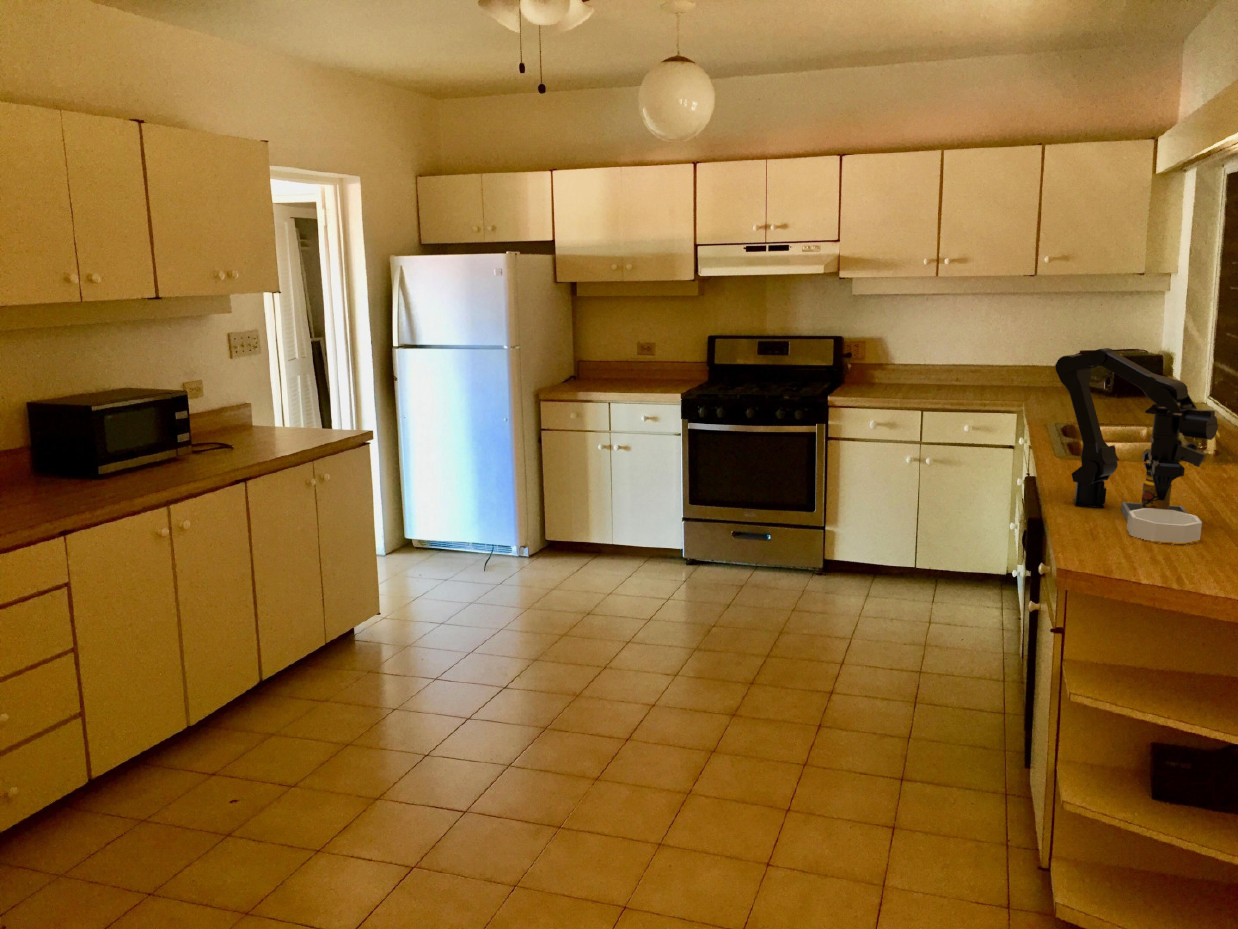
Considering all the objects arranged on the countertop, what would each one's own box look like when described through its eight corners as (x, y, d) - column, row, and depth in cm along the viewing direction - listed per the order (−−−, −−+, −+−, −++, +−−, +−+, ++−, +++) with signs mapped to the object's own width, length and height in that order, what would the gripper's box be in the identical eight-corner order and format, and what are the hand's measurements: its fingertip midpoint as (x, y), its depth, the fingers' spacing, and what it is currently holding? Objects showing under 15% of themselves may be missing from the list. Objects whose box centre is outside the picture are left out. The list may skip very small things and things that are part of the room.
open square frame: (1128, 523, 234) (1129, 515, 234) (1120, 509, 247) (1121, 502, 246) (1193, 528, 230) (1194, 520, 230) (1181, 513, 243) (1182, 506, 242)
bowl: (1133, 541, 221) (1135, 522, 220) (1124, 524, 234) (1126, 506, 233) (1203, 546, 216) (1206, 527, 215) (1190, 529, 229) (1192, 511, 228)
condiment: (1133, 519, 239) (1138, 471, 236) (1145, 512, 244) (1150, 465, 242) (1166, 524, 234) (1171, 475, 231) (1177, 517, 239) (1183, 470, 237)
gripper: (1213, 442, 223) (1205, 509, 226) (1195, 428, 240) (1188, 490, 243) (1158, 440, 226) (1151, 505, 230) (1144, 426, 243) (1138, 487, 247)
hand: (1158, 497), depth 237 cm, fingers closed on condiment, 6 cm apart
